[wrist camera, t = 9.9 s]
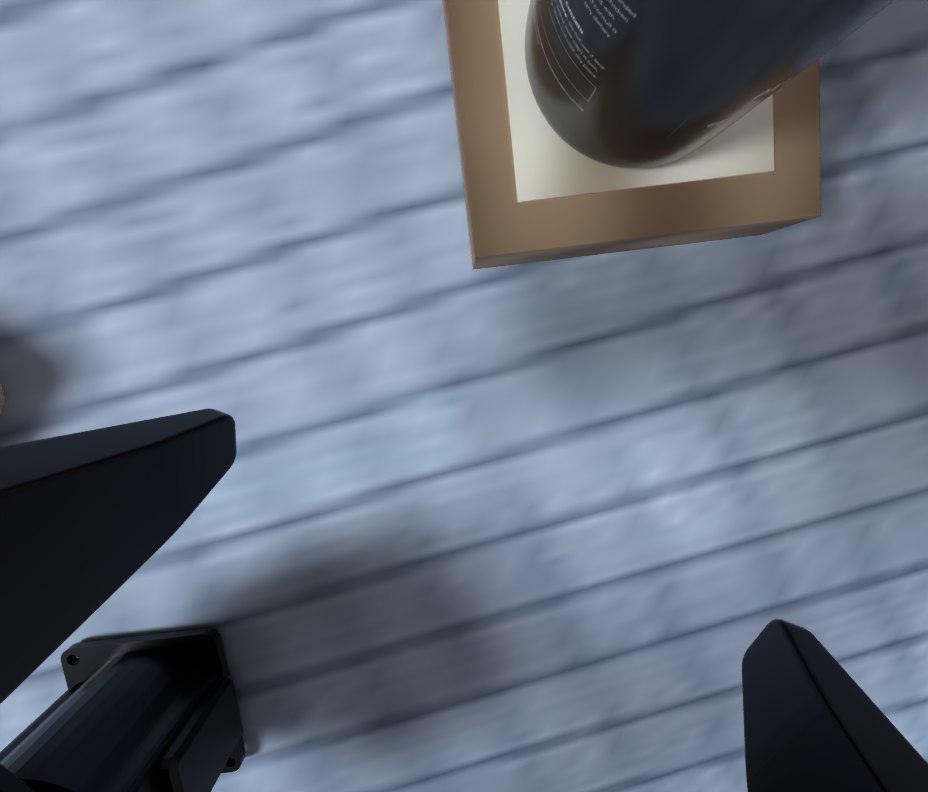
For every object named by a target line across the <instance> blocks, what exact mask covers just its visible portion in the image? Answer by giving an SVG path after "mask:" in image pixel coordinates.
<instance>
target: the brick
mask: <svg viewBox="0 0 928 792" xmlns="http://www.w3.org/2000/svg"><path fill="white" fill-rule="evenodd" d="M4 405H5V394H4V390H3V386H2V384H1V383H0V415H1V412H2V410H3V407H4Z"/></svg>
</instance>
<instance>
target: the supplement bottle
mask: <svg viewBox="0 0 928 792" xmlns="http://www.w3.org/2000/svg"><path fill="white" fill-rule="evenodd" d="M893 1H894V0H530V5H529V10H528V16H527V22H526V31H525V61H526V69H527V74H528V79H529V83H530V86H531V89H532V93H533V95H534V98H535V100H536V103H537V105H538V107H539V109H540V111H541V113H542V114H543V116H544V117H545V119H546V121H547V122H548V124H549V125H550V126H551V127H552V129H553V130H554V131H555V132H556V133H557V134H558V135H559V136H560V137H561V139H562V140H563V141H565V142H566V143H567V144H568V145H569V146H571V147H572V148H573V149H575V150H576V151H578V152H579V153H581V154H583V155H584V156H586V157H588V158H590V159H592V160H595V161H597V162H600V163H603V164H606V165H610V166H615V167H620V168H648V167H655V166H660V165H664V164H668V163H670V162H673V161H676V160H678V159H681V158H683V157H685V156H687V155H689V154H691V153H692V152H694V151H696V150H697V149H699V148H701V147H702V146H704V145H705V144H706V143H708V142H709V141H711V140H712V139H713V138H715V137H716V136H718V135H719V134H720V133H722V132H723V131H725V130H726V129H727V128H729V127H730V126H731V125H733V124H734V123H735V122H736V121H738V120H739V119H740V118H742V117H743V116H744V115H746V114H747V113H748V112H750V111H751V110H752V109H753V108H755V107H756V106H757V105H759V104H760V103H761V102H763V101H764V100H765V99H766V98H768V97H769V96H770V95H772V94H773V93H774V92H776V91H777V90H778V89H780V88H781V87H782V86H783V85H785V84H786V83H787V82H789V81H790V80H791V79H793V78H794V77H795V76H797V75H798V74H799V73H800V72H802V71H803V70H804V69H806V68H807V67H808V66H810V65H811V64H812V63H813V62H815V61H816V60H817V59H819V58H820V57H821V56H823V55H824V54H825V53H827V52H828V51H829V50H830V49H832V48H833V47H834V46H836V45H837V44H838V43H840V42H841V41H842V40H844V39H845V38H846V37H847V36H849V35H850V34H851V33H853V32H854V31H855V30H857V29H858V28H859V27H861V26H862V25H863V24H864V23H866V22H867V21H868V20H870V19H871V18H872V17H874V16H875V15H876V14H877V13H879V12H880V11H881V10H883V9H884V8H885V7H887V6H888V5H889V4H891V3H892V2H893Z"/></svg>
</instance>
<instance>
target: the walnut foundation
mask: <svg viewBox="0 0 928 792" xmlns="http://www.w3.org/2000/svg"><path fill="white" fill-rule="evenodd" d="M529 5H530V0H443V6H444V15H445V24H446V33H447V42H448V50H449V59H450V68H451V77H452V86H453V95H454V104H455V113H456V122H457V130H458V139H459V148H460V157H461V166H462V175H463V184H464V193H465V202H466V210H467V219H468V228H469V237H470V246H471V255H472V264H473V269H480V268H488V267H496V266H505V265H513V264H521V263H530V262H538V261H546V260H554V259H563V258H571V257H579V256H588V255H596V254H604V253H612V252H621V251H629V250H637V249H646V248H654V247H662V246H670V245H679V244H687V243H695V242H704V241H712V240H720V239H728V238H737V237H745V236H753V235H761V234H764V233H768V232H771V231H774V230H777V229H780V228H783V227H787V226H790V225H793V224H796V223H799V222H803V221H806V220H809V219H812V218H815V217H818V216H821V187H820V96H819V59H817V60H816V61H815V62H813V63H812V64H811V65H810V66H808V67H807V68H806V69H804V70H803V71H802V72H800V73H799V74H798V75H797V76H795V77H794V78H793V79H791V80H790V81H789V82H787V83H786V84H785V85H783V86H782V87H781V88H780V89H778V90H777V91H776V92H774V93H773V94H772V95H770V96H769V97H768V98H766V99H765V100H764V101H763V102H761V103H760V104H759V105H757V106H756V107H755V108H753V109H752V110H751V111H750V112H748V113H747V114H746V115H744V116H743V117H742V118H740V119H739V120H738V121H736V122H735V123H734V124H733V125H731V126H730V127H729V128H727V129H726V130H725V131H723V132H722V133H720V134H719V135H718V136H716V137H715V138H713V139H712V140H711V141H709V142H708V143H706V144H705V145H704V146H702V147H701V148H699V149H697V150H696V151H694V152H692V153H691V154H689V155H687V156H685V157H683V158H681V159H678V160H676V161H673V162H670V163H668V164H664V165H660V166H655V167H648V168H620V167H615V166H610V165H606V164H603V163H600V162H597V161H595V160H592V159H590V158H588V157H586V156H584V155H583V154H581V153H579V152H578V151H576V150H575V149H573V148H572V147H571V146H569V145H568V144H567V143H566V142H565V141H563V140H562V139H561V137H560V136H559V135H558V134H557V133H556V132H555V131H554V130H553V129H552V127H551V126H550V125H549V124H548V122H547V121H546V119H545V117H544V116H543V114H542V113H541V111H540V109H539V107H538V105H537V103H536V100H535V98H534V95H533V93H532V89H531V86H530V83H529V79H528V74H527V69H526V61H525V31H526V22H527V16H528V10H529Z"/></svg>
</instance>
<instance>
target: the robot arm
mask: <svg viewBox="0 0 928 792" xmlns="http://www.w3.org/2000/svg"><path fill="white" fill-rule="evenodd" d="M235 457H236V432H235V421H234V419H233V417H232V416H230V415H229V414H226V413H223V412H220V411H218V410H215V409H203V410H198V411H192V412H187V413H182V414H176V415H171V416H166V417H160V418H155V419H149V420H144V421H139V422H133V423H128V424H123V425H117V426H112V427H106V428H101V429H96V430H90V431H85V432H80V433H74V434H69V435H63V436H58V437H53V438H47V439H42V440H37V441H31V442H26V443H20V444H15V445H10V446H4V447H0V704H1V703H2V702H3V701H4V700H5V699H6V698H7V697H8V696H9V695H10V694H11V693H12V692H13V691H14V690H15V689H16V688H17V687H18V686H19V685H20V684H21V683H22V682H23V681H24V680H25V679H26V678H27V677H28V676H29V675H30V674H31V673H32V672H33V671H34V670H36V669H37V668H38V667H39V666H40V665H41V664H42V663H43V662H44V661H45V660H46V659H47V658H48V657H49V656H50V655H51V654H52V653H53V652H54V651H55V650H56V649H57V648H58V647H59V646H60V645H61V644H62V643H63V642H64V641H65V640H66V639H67V638H68V637H69V636H70V635H71V634H72V633H73V632H74V631H75V630H76V629H77V628H79V627H80V626H81V625H82V624H83V623H84V622H85V621H86V620H87V619H88V618H89V617H90V616H91V615H92V614H93V613H94V612H95V611H96V610H97V609H98V608H99V607H100V606H101V605H102V604H103V603H104V602H105V601H106V600H107V599H108V598H109V597H110V596H111V595H112V594H113V593H114V592H115V591H116V590H117V589H118V588H119V587H120V586H122V585H123V584H124V583H125V582H126V581H127V580H128V579H129V578H130V577H131V576H132V575H133V574H134V573H135V572H136V571H137V570H138V569H139V568H140V567H141V566H142V565H143V564H144V563H145V562H146V561H147V560H148V559H149V558H150V557H151V556H152V555H153V554H154V553H155V552H156V551H157V550H158V549H159V548H160V547H161V546H162V545H163V544H164V543H165V542H166V541H167V540H168V539H169V538H170V537H171V536H172V535H173V534H174V533H175V532H176V531H177V530H178V529H179V527H180V526H181V525H182V524H183V523H184V522H185V521H186V519H187V518H188V517H189V516H190V515H191V514H192V512H193V511H194V510H195V509H196V508H197V506H198V505H199V504H200V503H201V502H202V501H203V499H204V498H205V497H206V496H207V495H208V493H209V492H210V491H211V490H212V489H213V488H214V486H215V485H216V484H217V483H218V482H219V481H220V479H221V478H222V477H223V476H224V475H225V473H226V472H227V471H228V470H229V469H230V467H231V466H232V464H233V463H234V460H235ZM204 640H208V641H209V642H210V644H207V643H205V641H204ZM75 655H76V656H77V657H78V658H79V659H78V658H77V657H76V656H75ZM61 663H62V667H63V671H64V675H65V679H66V682H67V686H68V690H67V691H66V692H65V693H64V694H63V695H62V696H61V697H60V698H59V699H58V700H56V701H55V702H54V703H53V704H52V705H51V706H50V707H49V708H48V709H47V710H46V711H45V712H43V713H42V714H41V715H40V716H39V717H38V718H37V719H36V720H35V721H34V722H33V723H31V724H30V725H29V726H28V727H27V728H26V729H25V730H24V731H23V732H22V733H21V734H20V735H18V736H17V737H16V738H15V739H14V740H13V741H12V742H11V743H10V744H9V745H8V746H6V747H5V748H4V749H3V750H2V751H1V752H0V792H211V790H212V788H213V787H214V785H215V783H216V781H217V779H218V777H219V775H220V774H221V773H227V772H233V771H236V770H238V769H239V768H240V766H241V764H242V762H243V760H244V758H245V748H244V743H243V739H242V732H243V728H242V723H241V718H240V713H239V708H238V703H237V699H236V694H235V689H234V684H233V681H232V679H231V678H230V676H229V671H228V667H227V662H226V657H225V652H224V647H223V643H222V638H221V635H220V633H219V632H218V631H217V630H215V629H213V628H203V629H194V630H185V631H177V632H168V633H159V634H151V635H142V636H133V637H124V638H116V639H107V640H98V641H90V642H81V643H76V644H73V645H72V646H71V647H70V648H68V649H67V650H66V651H65V652H64V653H62V656H61ZM742 684H743V711H744V737H745V763H746V778H747V788H748V792H928V763H927V762H926V761H925V760H924V759H923V758H922V756H921V755H920V754H919V753H918V752H917V751H916V750H915V749H914V748H913V746H912V745H911V744H910V743H909V742H908V741H907V740H906V739H905V737H904V736H903V735H902V734H901V733H900V732H899V731H898V730H897V728H896V727H895V726H894V725H893V724H892V723H891V722H890V721H889V719H888V718H887V717H886V716H885V715H884V714H883V713H882V712H881V710H880V709H879V708H878V707H877V706H876V705H875V704H874V703H873V702H872V700H871V699H870V698H869V697H868V696H867V695H866V694H865V693H864V691H863V690H862V689H861V688H860V687H859V686H858V685H857V684H856V682H855V681H854V680H853V679H852V678H851V677H850V676H849V675H848V673H847V672H846V671H845V670H844V669H843V668H842V667H841V666H840V664H839V663H838V662H837V661H836V660H835V659H834V658H833V657H832V656H831V654H830V653H829V652H828V651H827V650H826V649H825V648H824V647H823V645H822V644H821V643H820V642H819V641H818V640H817V639H816V638H815V636H814V635H813V634H812V633H811V632H810V631H808V630H807V629H805V628H803V627H800V626H797V625H795V624H792V623H789V622H787V621H784V620H781V619H775V620H772V621H771V622H770V623H768V625H767V626H766V627H765V628H764V629H763V631H762V632H761V633H760V634H759V636H758V637H757V638H756V639H755V640H754V642H753V643H752V644H751V645H750V647H749V648H748V649H747V651H746V652H745V655H744V657H743V662H742ZM231 757H233V758H234V759H233V758H231Z"/></svg>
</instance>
